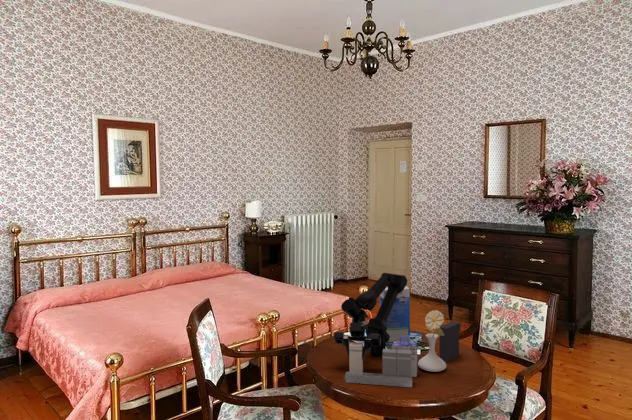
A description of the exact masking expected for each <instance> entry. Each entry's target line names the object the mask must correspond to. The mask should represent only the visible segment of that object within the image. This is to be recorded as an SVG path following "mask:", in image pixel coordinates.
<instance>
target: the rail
mask: <svg viewBox="0 0 632 420" xmlns="http://www.w3.org/2000/svg"><path fill="white" fill-rule="evenodd" d="M344 375H345V376H344V377H343V381H344V382H345V383H347V384H359V383H360V384H361V385H365V384H366V385H374V386H375V385H376V386H391V387H400V388H401V387H402V388H403V387H404V388H413V377H412V376H405V375H390V374H383V373H376V372H375V373H374V372H363V373H361V372H349V371H345V374H344Z"/></svg>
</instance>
